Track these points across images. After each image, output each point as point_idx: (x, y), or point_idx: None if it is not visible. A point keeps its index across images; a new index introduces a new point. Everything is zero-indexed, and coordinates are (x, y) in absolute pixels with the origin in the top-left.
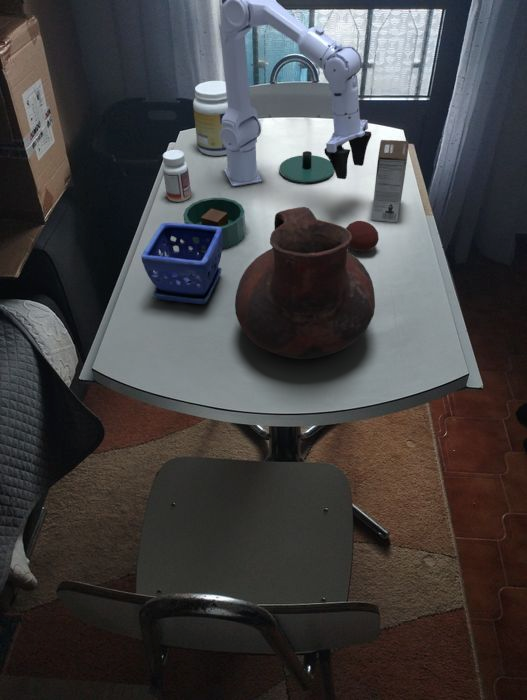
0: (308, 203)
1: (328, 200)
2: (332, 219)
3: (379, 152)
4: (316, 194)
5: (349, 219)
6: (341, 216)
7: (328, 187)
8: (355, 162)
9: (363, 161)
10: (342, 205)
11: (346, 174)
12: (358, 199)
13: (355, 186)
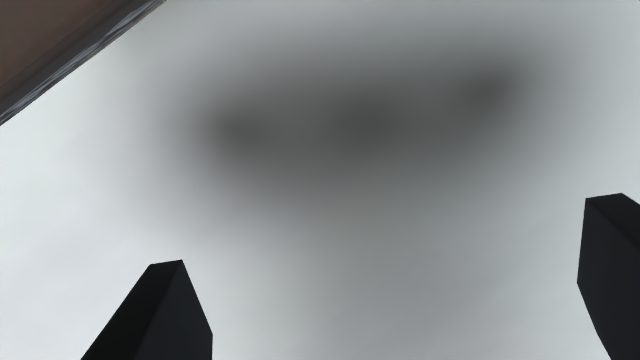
0: (433, 318)
1: (323, 265)
2: (500, 101)
3: (72, 20)
4: (320, 349)
5: (425, 14)
6: (428, 83)
7: None
8: (201, 349)
9: (143, 290)
10: (308, 169)
11: (626, 219)
12: (168, 144)
13: (64, 259)
